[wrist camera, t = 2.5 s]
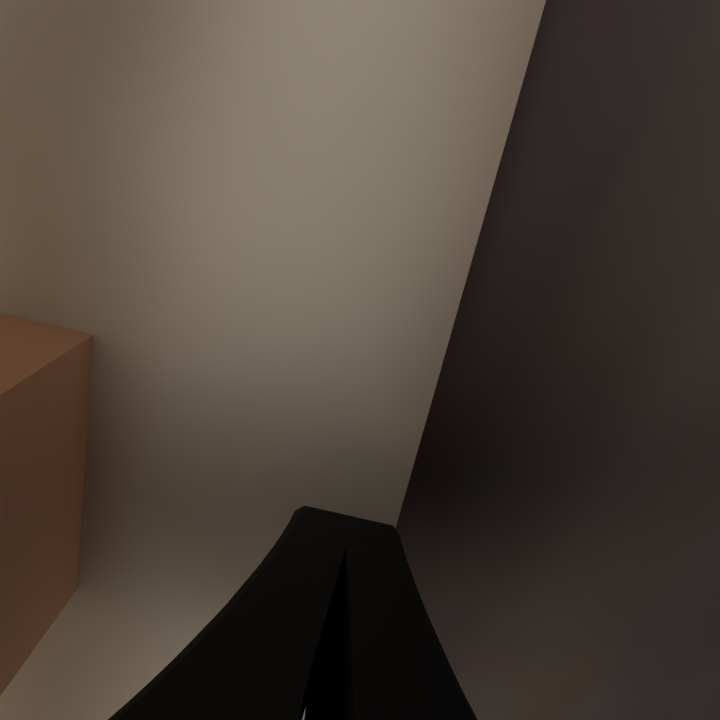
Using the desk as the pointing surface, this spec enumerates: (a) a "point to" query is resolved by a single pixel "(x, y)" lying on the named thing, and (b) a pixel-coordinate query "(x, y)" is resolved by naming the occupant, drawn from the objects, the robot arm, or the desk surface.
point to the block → (39, 478)
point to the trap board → (237, 279)
